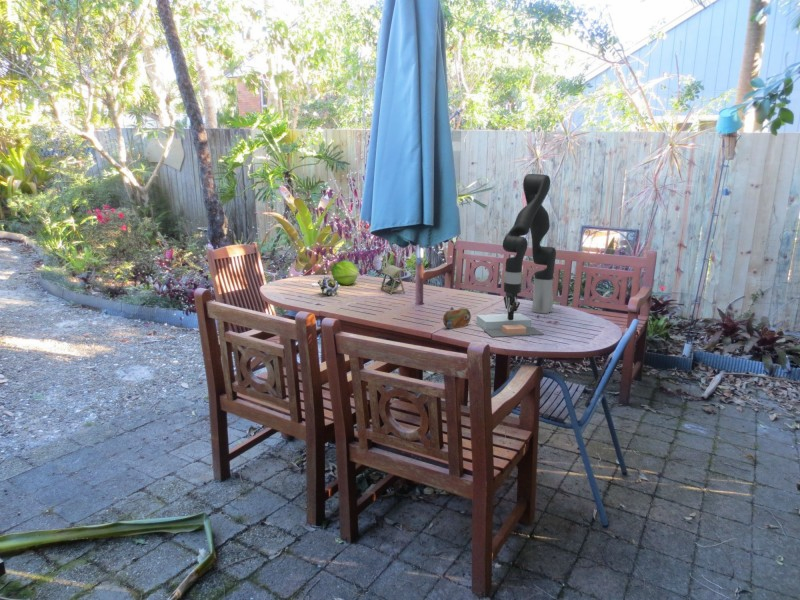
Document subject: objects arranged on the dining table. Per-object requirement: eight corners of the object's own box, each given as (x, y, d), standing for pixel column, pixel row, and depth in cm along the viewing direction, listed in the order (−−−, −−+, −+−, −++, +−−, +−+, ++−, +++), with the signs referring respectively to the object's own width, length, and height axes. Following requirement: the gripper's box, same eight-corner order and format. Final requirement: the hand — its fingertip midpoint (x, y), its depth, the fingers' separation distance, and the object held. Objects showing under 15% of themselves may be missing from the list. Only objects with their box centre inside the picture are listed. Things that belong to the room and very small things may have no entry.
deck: (519, 321, 257) (520, 313, 256) (530, 328, 246) (531, 319, 245) (476, 323, 253) (476, 315, 252) (485, 330, 241) (485, 322, 240)
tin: (446, 330, 241) (446, 312, 239) (441, 328, 243) (442, 310, 241) (470, 325, 250) (471, 307, 248) (466, 323, 252) (466, 306, 250)
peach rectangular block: (526, 328, 235) (526, 333, 236) (520, 324, 241) (520, 329, 241) (507, 329, 233) (506, 334, 234) (501, 325, 239) (501, 330, 240)
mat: (533, 328, 245) (533, 327, 245) (543, 334, 236) (543, 333, 236) (483, 331, 240) (483, 329, 240) (492, 337, 231) (492, 336, 231)
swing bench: (380, 289, 321) (380, 265, 318) (394, 288, 325) (394, 264, 322) (390, 295, 308) (391, 269, 305) (405, 293, 312) (406, 268, 309)
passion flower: (332, 306, 305) (326, 290, 295) (316, 299, 311) (309, 283, 301) (346, 291, 311) (340, 275, 301) (329, 284, 317) (323, 268, 307)
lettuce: (368, 283, 334) (349, 290, 324) (344, 277, 350) (325, 284, 339) (365, 260, 330) (346, 266, 319) (341, 256, 345) (322, 262, 335)
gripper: (527, 284, 231) (524, 323, 235) (514, 278, 244) (512, 315, 248) (510, 284, 230) (508, 324, 234) (498, 278, 242) (496, 316, 246)
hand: (510, 319), depth 241 cm, fingers closed
